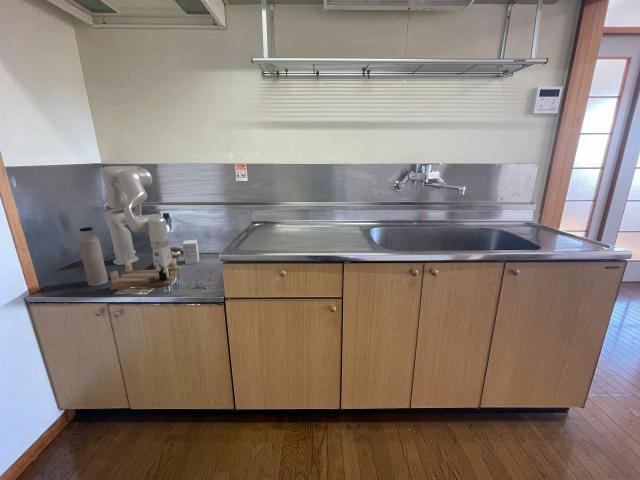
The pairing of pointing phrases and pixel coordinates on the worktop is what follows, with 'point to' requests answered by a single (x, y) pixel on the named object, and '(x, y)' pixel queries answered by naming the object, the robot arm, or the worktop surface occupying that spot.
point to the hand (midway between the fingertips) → (165, 278)
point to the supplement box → (190, 251)
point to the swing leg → (158, 278)
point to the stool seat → (141, 277)
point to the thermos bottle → (92, 257)
